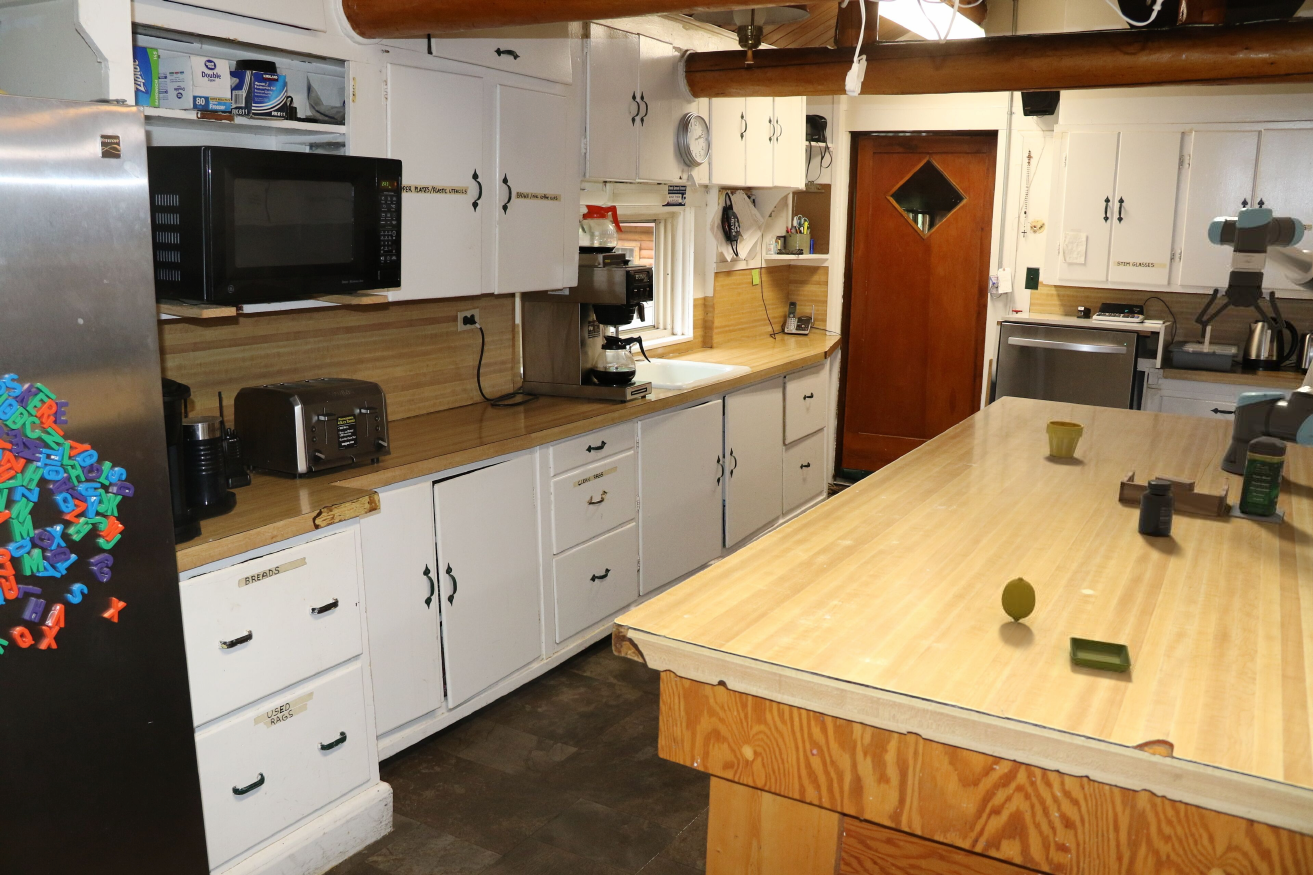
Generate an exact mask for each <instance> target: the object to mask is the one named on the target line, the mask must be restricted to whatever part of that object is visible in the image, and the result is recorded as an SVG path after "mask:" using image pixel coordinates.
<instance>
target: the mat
mask: <svg viewBox="0 0 1313 875" xmlns="http://www.w3.org/2000/svg"><path fill="white" fill-rule="evenodd" d="M1239 503H1240V502H1235V501H1233V503H1232V505H1231V509H1230V510H1229V514H1228V517H1233V518H1239V519H1246V520H1252V521H1258V522H1259V521H1260V522H1264V523H1265V522H1266V523H1271V524H1278V525H1282V524H1283V518H1284V512H1285V510H1284V509H1283V508H1277V509H1276V512H1275V513H1274V514H1273V515H1271V516H1266V515H1259V516H1256V515H1251V514H1249V513H1246V512H1242V511H1240V510H1239Z"/></svg>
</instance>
